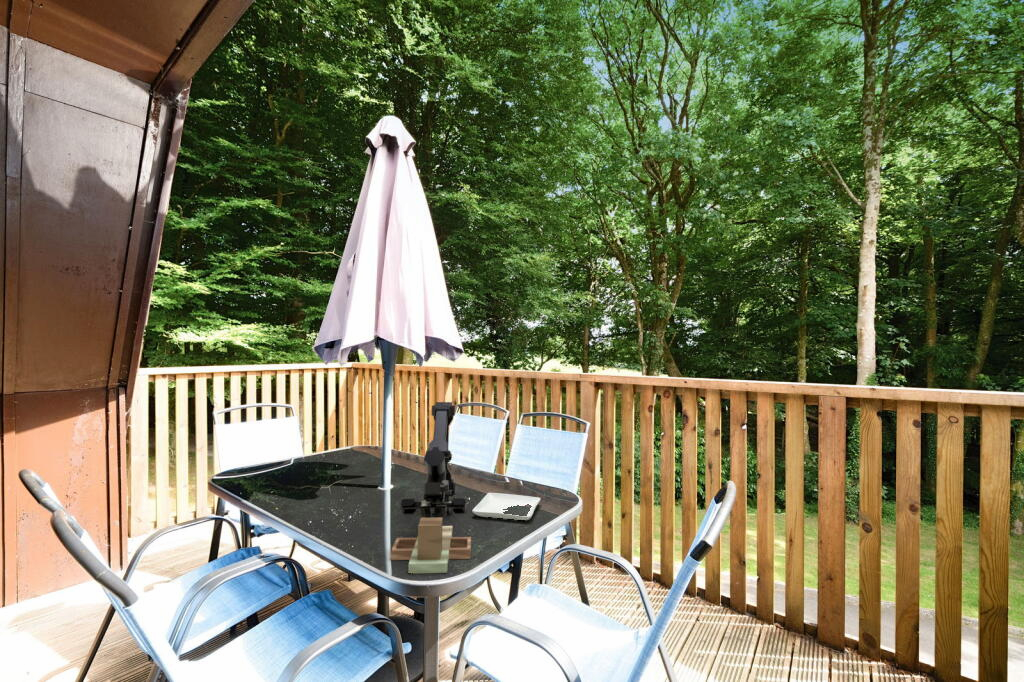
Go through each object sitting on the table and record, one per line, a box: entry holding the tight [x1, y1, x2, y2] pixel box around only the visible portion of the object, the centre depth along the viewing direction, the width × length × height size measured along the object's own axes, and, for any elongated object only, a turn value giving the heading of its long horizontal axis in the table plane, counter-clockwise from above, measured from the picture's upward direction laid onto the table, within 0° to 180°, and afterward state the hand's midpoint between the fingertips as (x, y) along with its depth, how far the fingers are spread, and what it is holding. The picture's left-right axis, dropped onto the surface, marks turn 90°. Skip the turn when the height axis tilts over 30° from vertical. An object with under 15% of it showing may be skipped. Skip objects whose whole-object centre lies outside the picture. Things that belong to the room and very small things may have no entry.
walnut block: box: [417, 516, 444, 560], centre depth 126 cm, size 6×6×9 cm
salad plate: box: [472, 492, 541, 521], centre depth 169 cm, size 21×21×3 cm
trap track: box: [390, 525, 472, 574], centre depth 134 cm, size 26×22×2 cm
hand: (431, 534), depth 130 cm, fingers closed, pressing on walnut block
